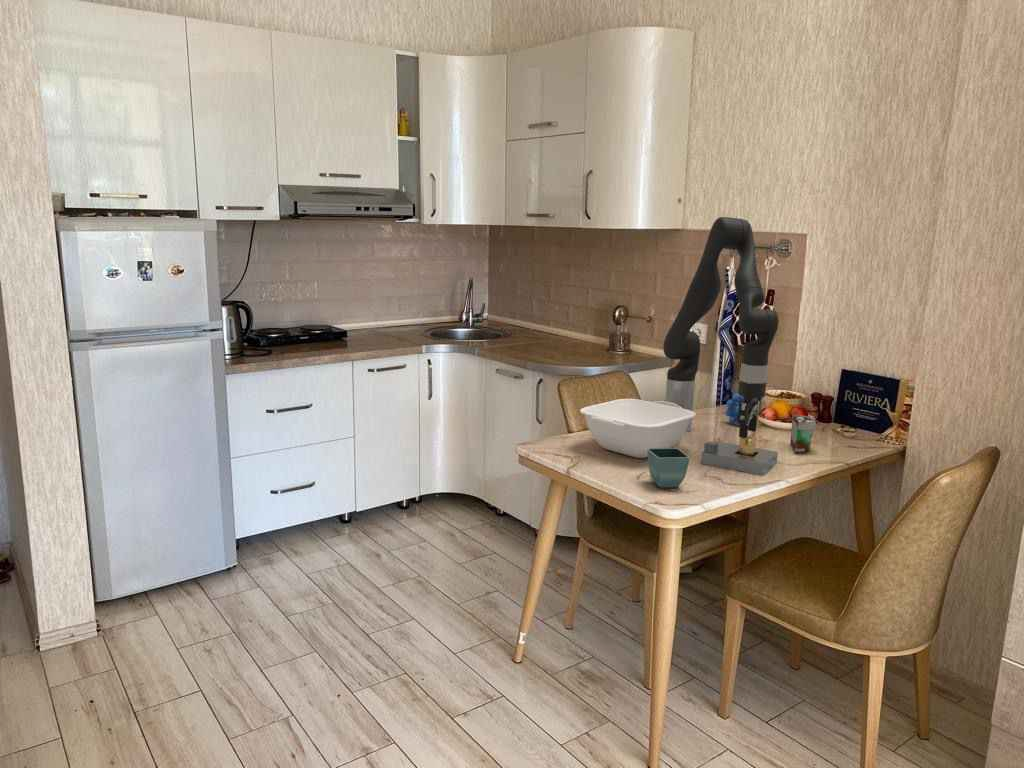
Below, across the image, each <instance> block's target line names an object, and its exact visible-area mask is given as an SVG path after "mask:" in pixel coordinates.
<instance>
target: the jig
mask: <svg viewBox="0 0 1024 768" xmlns="http://www.w3.org/2000/svg"><path fill="white" fill-rule="evenodd" d="M703 445H704V448H703V451H701V457H700V464H701V465H706V466H712V467H718V468H722V469H727V470H731V471H732V470H733V471H737V472H743V473H748V474H754V475H758V476H765V475H766V474H767V473H768V472H770V470H771V469H772V468H773V467H775V465H777V463H778V454H779V452H778V451H775V450H770V449H764V448H758V447H755V457H750V456H745V455H739V446H740V444H735V443H730V442H723V441H718V440H717V441H715V442H714V441H710V440H708V441H706V442H705V443H704V444H703Z"/></svg>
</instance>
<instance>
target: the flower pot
mask: <svg viewBox="0 0 1024 768" xmlns="http://www.w3.org/2000/svg"><path fill="white" fill-rule="evenodd" d="M647 450H648V457H647V463H648V464H647V465H648V470H649V473H650V478H651V479H652V480H653V482H654V483H655V484H656V485H657V486H658V488H663V489H664V488H678V487H679V486H680V485H681V484H682V483H683V481H684V480H685V478H686V475H687V473H688V472H687V471H688V467H689V463H690V462H689V461H690V456H689V455H688V454H686V453H685V452H683V450H681V449H680V448H677V447H674V448H673V447H671V448H650V449H647Z"/></svg>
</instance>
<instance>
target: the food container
mask: <svg viewBox="0 0 1024 768" xmlns="http://www.w3.org/2000/svg"><path fill="white" fill-rule="evenodd" d="M791 420H792V421H791V430H790V431H791V432H790V444H789V445H790V449H792V452H793V453H794V455H795V454H796V455H804V454H808V453H809V452H810V451H811V450H810V449H811V444H812V439H813V433H814V429H816V428H817V425H816V424H817V423H816V421H815V419H814V418H813V417H810V416H806V415H803V414H802V415H801V414H795V413H792V417H791Z"/></svg>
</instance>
